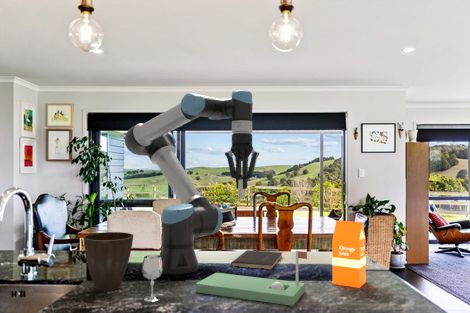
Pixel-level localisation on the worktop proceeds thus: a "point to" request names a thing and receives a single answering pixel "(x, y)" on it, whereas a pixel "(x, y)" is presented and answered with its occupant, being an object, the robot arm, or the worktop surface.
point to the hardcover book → (257, 259)
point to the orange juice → (349, 254)
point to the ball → (277, 286)
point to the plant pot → (107, 258)
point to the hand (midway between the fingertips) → (241, 197)
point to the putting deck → (254, 287)
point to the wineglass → (152, 272)
